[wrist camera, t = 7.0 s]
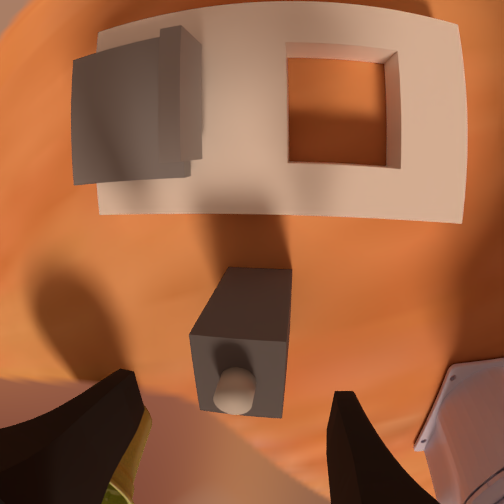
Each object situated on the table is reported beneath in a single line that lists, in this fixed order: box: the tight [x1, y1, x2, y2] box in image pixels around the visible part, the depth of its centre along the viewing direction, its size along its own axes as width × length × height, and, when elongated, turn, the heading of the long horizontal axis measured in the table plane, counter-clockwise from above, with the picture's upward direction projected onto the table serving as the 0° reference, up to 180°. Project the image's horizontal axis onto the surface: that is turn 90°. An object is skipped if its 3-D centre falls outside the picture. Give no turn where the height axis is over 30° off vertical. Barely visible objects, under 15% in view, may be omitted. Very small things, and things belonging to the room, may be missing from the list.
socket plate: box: [96, 1, 467, 224], centre depth 14 cm, size 10×18×2 cm, turn 91°
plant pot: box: [93, 384, 152, 504], centre depth 19 cm, size 9×9×9 cm
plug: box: [189, 267, 292, 418], centre depth 14 cm, size 4×4×8 cm
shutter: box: [71, 25, 202, 185], centre depth 11 cm, size 6×7×3 cm
